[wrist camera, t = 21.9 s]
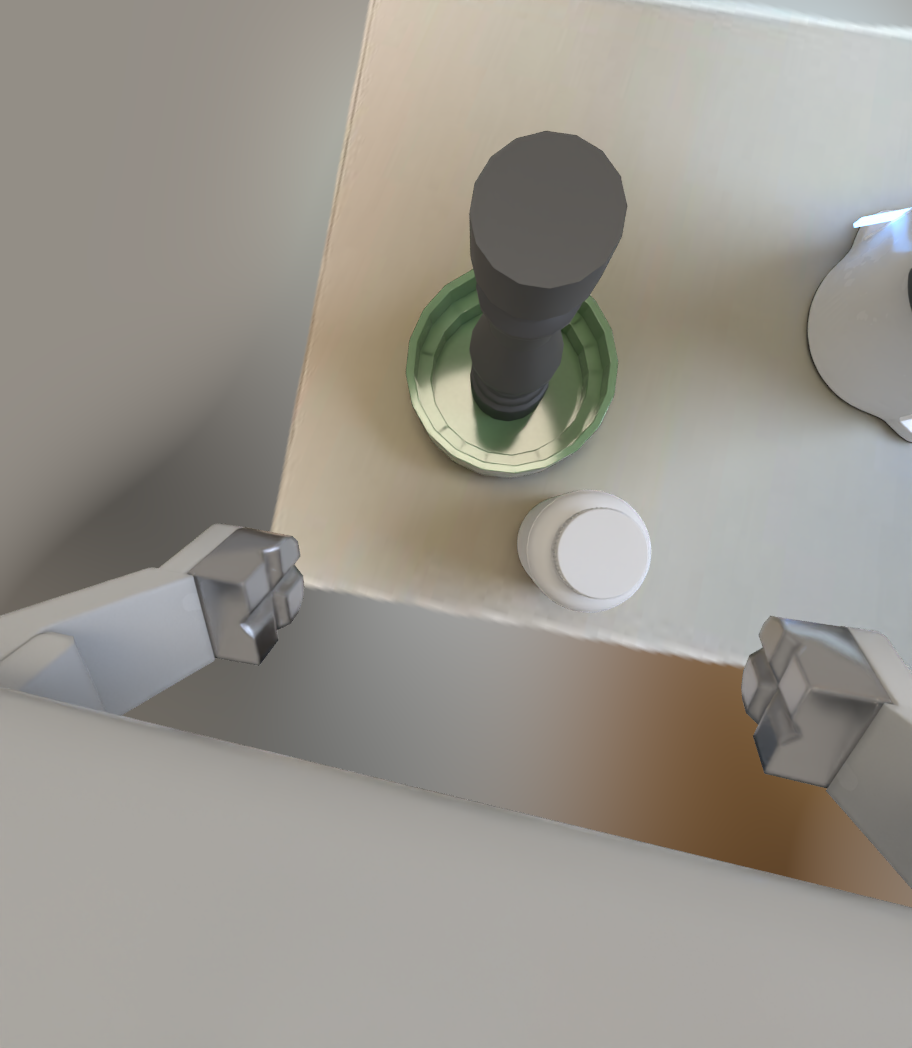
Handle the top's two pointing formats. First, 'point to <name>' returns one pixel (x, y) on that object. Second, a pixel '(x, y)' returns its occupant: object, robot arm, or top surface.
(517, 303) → the candle holder
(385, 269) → the top surface
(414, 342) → the bowl
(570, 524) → the pill bottle
